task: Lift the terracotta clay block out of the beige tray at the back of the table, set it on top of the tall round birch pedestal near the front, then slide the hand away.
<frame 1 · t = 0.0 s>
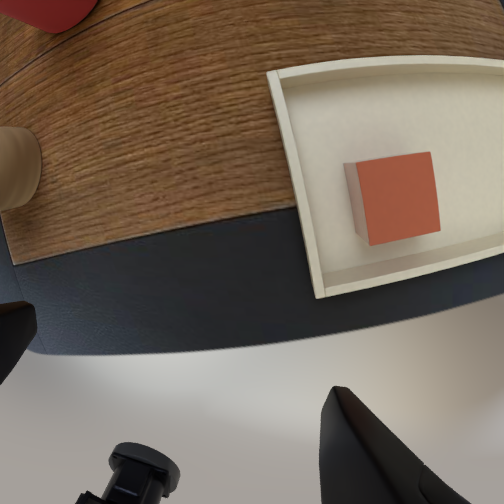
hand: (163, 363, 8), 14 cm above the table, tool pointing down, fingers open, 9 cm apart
clay block: (382, 192, 19), resting on beige tray
beige tray: (446, 157, 18), on the table
beer can: (74, 3, 17), on the table
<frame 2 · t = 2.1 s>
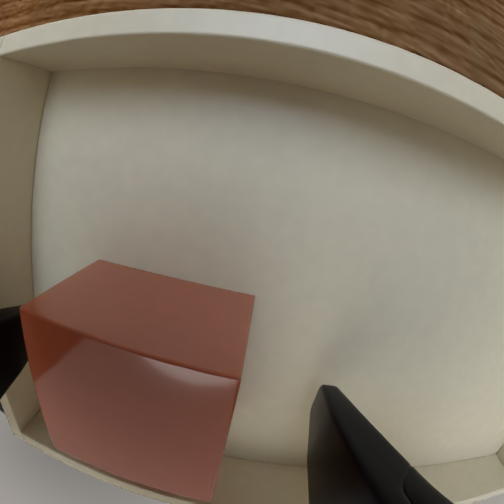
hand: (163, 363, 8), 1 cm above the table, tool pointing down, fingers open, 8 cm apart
clay block: (165, 346, 9), resting on beige tray
beige tray: (363, 331, 9), on the table
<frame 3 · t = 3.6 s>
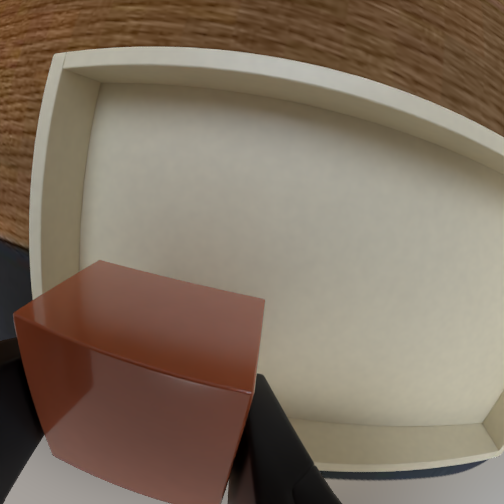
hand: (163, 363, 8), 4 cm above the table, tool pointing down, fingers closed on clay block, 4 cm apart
clay block: (169, 351, 8), point 4 cm above the table, touching gripper
beige tray: (354, 294, 11), on the table
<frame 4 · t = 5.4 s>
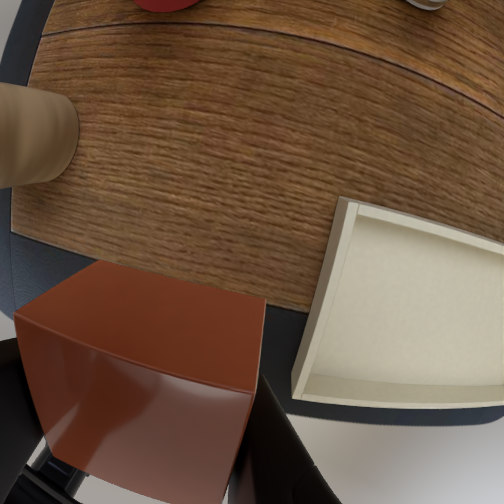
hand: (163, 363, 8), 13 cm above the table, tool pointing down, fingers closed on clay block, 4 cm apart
clay block: (169, 351, 8), point 12 cm above the table, touching gripper
beige tray: (450, 317, 20), on the table
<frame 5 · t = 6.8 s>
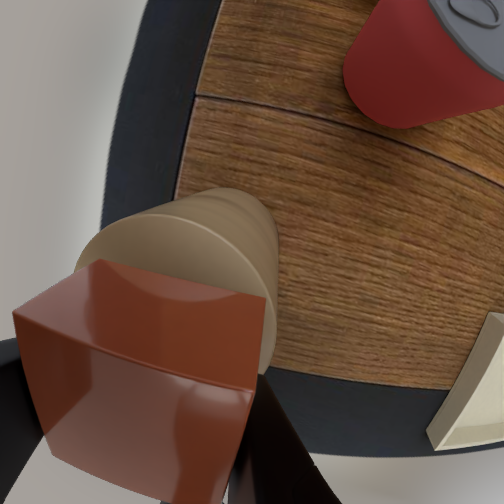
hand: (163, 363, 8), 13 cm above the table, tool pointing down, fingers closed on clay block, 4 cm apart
clay block: (169, 351, 8), point 13 cm above the table, touching gripper
beer can: (388, 82, 17), on the table
pedestal: (129, 374, 7), on the table
when the fingers open (12 cm above the table, at t = 7.9 s): clay block stays where it is, resting on pedestal.
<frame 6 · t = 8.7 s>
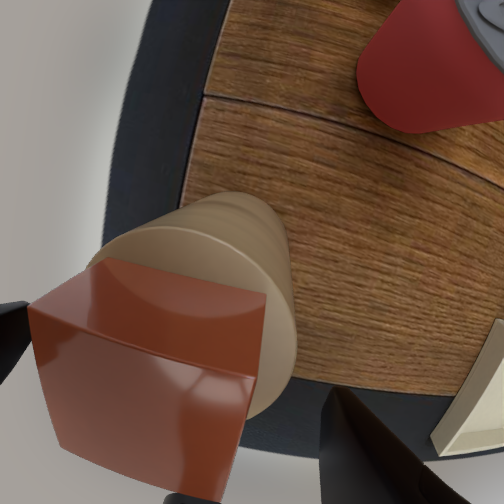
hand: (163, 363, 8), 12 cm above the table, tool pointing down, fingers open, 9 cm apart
clay block: (174, 345, 9), point 12 cm above the table, touching pedestal
beer can: (401, 85, 16), on the table
pedestal: (143, 401, 6), on the table
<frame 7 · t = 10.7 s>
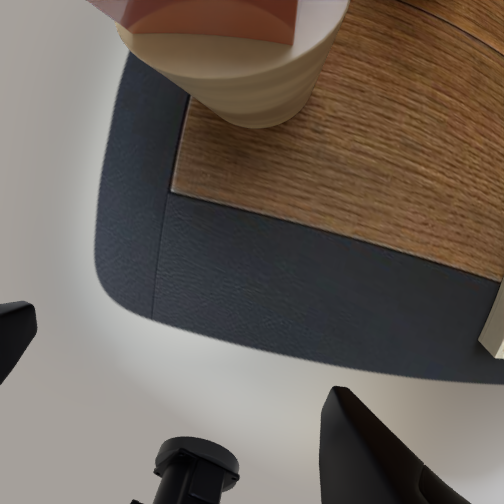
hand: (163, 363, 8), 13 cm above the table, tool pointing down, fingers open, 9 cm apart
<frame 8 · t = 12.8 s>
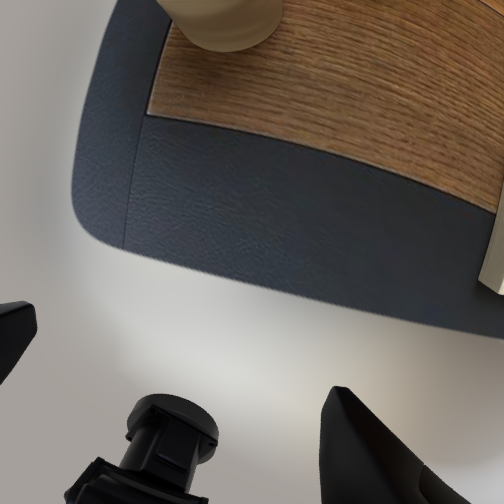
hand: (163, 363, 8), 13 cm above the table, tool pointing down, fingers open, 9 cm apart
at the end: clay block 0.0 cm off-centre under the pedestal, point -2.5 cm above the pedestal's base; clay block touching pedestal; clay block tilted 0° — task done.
